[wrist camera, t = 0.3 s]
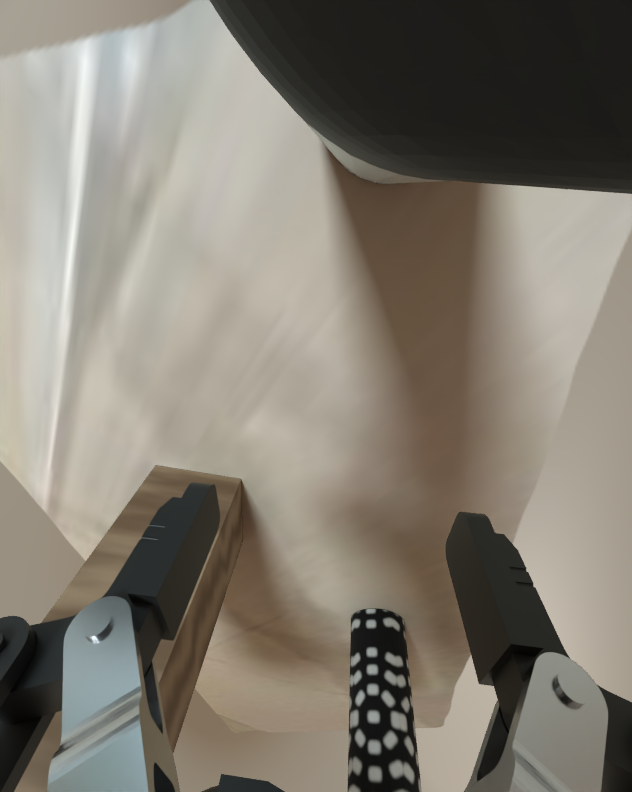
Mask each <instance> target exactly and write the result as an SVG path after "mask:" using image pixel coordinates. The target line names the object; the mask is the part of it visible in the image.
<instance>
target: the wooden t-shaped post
mask: <svg viewBox="0 0 632 792" xmlns="http://www.w3.org/2000/svg"><path fill="white" fill-rule="evenodd" d="M192 482H196V483H205V484H214V485H215V486H216V491H217V497H218V504H219V510H220V523H219V528H218V531H217V534H216V537H215V539H214V542H213V544H212V546H211V549H210V551H209V554H208V556H207V559H206V561H205V564H204V566H203V569H202V571H201V574H200V576H199V579H198V581H197V584H196V586H195V589H194V591H193V594H192V596H191V599H190V601H189V604H188V606H187V609H186V611H185V614H184V616H183V619H182V621H181V624H180V626H179V629H178V631H177V634H176V636H175V639H174V641H170V640H163V639H161V641H160V643H159V646H158V648H157V650H156V653H155V655H154V660H155V666H156V671H157V677H158V683H159V689H160V695H161V701H162V707H163V713H164V719H165V725H166V730H167V735H168V739H169V743H170V746H171V749H172V753H173V752H174V749H175V746H176V743H177V740H178V737H179V734H180V731H181V728H182V725H183V722H184V718H185V716H186V713H187V710H188V706H189V703H190V700H191V697H192V694H193V691H194V688H195V685H196V682H197V679H198V676H199V673H200V670H201V667H202V664H203V661H204V658H205V655H206V652H207V649H208V645H209V642H210V639H211V636H212V633H213V630H214V627H215V624H216V621H217V618H218V615H219V612H220V609H221V606H222V603H223V600H224V597H225V594H226V591H227V587H228V584H229V581H230V578H231V575H232V572H233V569H234V566H235V563H236V560H237V557H238V554H239V551H240V548H241V545H242V542H243V528H242V495H241V479H237V478H231V477H225V476H219V475H213V474H206V473H200V472H194V471H188V470H182V469H176V468H169V467H163V466H157V465H156V466H155V467H154V468H153V470H152V471H151V472H150V474H149V475H148V477H147V478H146V479H145V481H144V482H143V483H142V485H141V486H140V488H139V489H138V490H137V492H136V493H135V495H134V496H133V497H132V499H131V500H130V501H129V503H128V504H127V506H126V507H125V508H124V510H123V511H122V512H121V514H120V515H119V517H118V518H117V519H116V521H115V522H114V523H113V525H112V526H111V528H110V529H109V530H108V532H107V533H106V534H105V536H104V537H103V539H102V540H101V541H100V543H99V544H98V545H97V547H96V548H95V550H94V551H93V552H92V554H91V555H90V556H89V558H88V559H87V561H86V562H85V563H84V565H83V566H82V568H81V569H80V570H79V572H78V573H77V575H76V576H75V577H74V579H73V580H72V581H71V583H70V584H69V586H68V587H67V588H66V590H65V591H64V592H63V594H62V595H61V596H60V598H59V599H58V601H57V602H56V603H55V605H54V606H53V608H52V609H51V610H50V612H49V613H48V614H47V616H46V617H45V618H44V620H43V621H42V623H45V622H49V621H54V620H58V619H63V618H67V617H71V616H74V615H76V614H78V613H79V612H80V611H81V610H83V609H84V608H85V607H86V606H88V605H89V604H91V603H92V602H94V601H96V600H98V599H101V598H102V597H103V596H104V594H105V593H106V592H107V591H108V589H109V588H110V587H111V585H112V583H113V582H114V580H115V579H116V577H117V575H118V574H119V572H120V570H121V569H122V567H123V566H124V564H125V562H126V561H127V559H128V558H129V556H130V554H131V553H132V551H133V549H134V548H135V546H136V545H137V543H138V541H139V540H141V538H142V535H143V533H144V532H145V530H146V528H147V527H149V524H150V522H151V520H152V519H153V517H154V516H155V514H156V512H157V511H158V509H159V508H160V507H161V506H163V505H164V504H165V503H166V502H167V501H168V500H170V499H171V498H172V497H178V498H182V496H183V494H184V492H185V490H186V489H187V487H188V485H189V484H190V483H192ZM61 736H62V711H59V712H56V713H55V715H54V717H53V719H52V721H51V723H50V725H49V726H48V728H47V730H46V732H45V734H44V736H43V738H42V740H41V742H40V744H39V745H38V747H37V749H36V751H35V753H34V755H33V757H32V759H31V761H30V762H29V764H28V766H27V768H26V770H25V772H24V774H23V776H22V778H21V780H20V781H19V783H18V785H17V787H16V789H15V791H14V792H47V790H48V775H49V768H50V764H51V760H52V757H53V755H54V753H55V752H56V751H57V750H58V749H59V747H60V743H61Z"/></svg>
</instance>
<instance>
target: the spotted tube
mask: <svg viewBox="0 0 632 792" xmlns="http://www.w3.org/2000/svg"><path fill="white" fill-rule="evenodd" d="M348 792H421V782H420V773H419V763H418V753H417V743H416V733H415V723H414V714H413V704H412V694H411V684H410V674H409V664H408V655H407V645H406V635H405V625H404V620H403V619H402V618H401V617H400V616H399V615H397V614H395V613H393V612H390V611H387V610H382V609H365V610H361V611H358V612H356V613H355V614H353V615H352V617H351V652H350V703H349V755H348Z"/></svg>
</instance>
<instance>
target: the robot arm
mask: <svg viewBox="0 0 632 792" xmlns="http://www.w3.org/2000/svg"><path fill="white" fill-rule="evenodd" d="M210 2H211V3H212V5H213V6H214V8H215V9H216V11H217V13H218V14H219V16H220V17H221V19H222V20H223V22H224V23H225V25H226V27H227V28H228V30H229V31H230V32H231V34H232V35H233V37H234V38H235V39H236V41H237V42H238V43H239V45H240V46H241V47H242V49H243V50H244V51H245V53H246V54H247V55H248V57H249V58H250V59H251V61H252V62H253V63H254V64H255V66H256V67H257V68H258V70H259V71H260V72H261V74H262V75H263V76H264V77H265V78H266V79H267V80H268V81H269V83H270V84H271V85H272V86H273V87H274V88H275V89H276V90H277V91H278V93H279V94H280V95H281V96H282V97H283V98H284V99H285V100H286V102H287V103H288V104H289V105H290V106H291V107H292V108H293V110H294V111H295V112H296V113H297V114H298V115H299V116H300V117H301V118H302V119H303V120H304V121H305V122H306V123H307V124H308V126H309V127H310V128H311V129H312V130H313V131H314V132H315V134H316V135H317V136H318V137H319V138H320V140H321V141H322V142H323V143H324V144H325V145H326V147H327V148H328V149H329V150H330V151H331V153H332V154H333V155H334V156H335V157H336V158H337V160H338V161H339V162H341V163H342V164H343V165H344V166H345V168H346V169H347V170H348V171H350V172H351V173H352V174H354V175H357V176H358V177H361V178H362V179H364V180H367V181H370V182H376V183H379V184H399V183H416V182H442V181H465V182H476V183H489V184H505V185H520V186H534V187H547V188H561V189H574V190H588V191H602V192H615V193H629V194H632V0H210ZM219 523H220V510H219V504H218V497H217V491H216V486H215V485H214V484H205V483H196V482H192V483H190V484H189V485H188V487H187V489H186V490H185V492H184V494H183V496H182V498H178V497H172V498H171V499H170V500H168V501H167V502H166V503H165V504H164V505H163V506H161V507H160V508H159V509H158V511H157V512H156V514H155V516H154V517H153V519H152V520H151V522H150V524H149V527H147V528H146V530H145V532H144V533H143V535H142V538H141V540H139V541H138V543H137V545H136V546H135V548H134V549H133V551H132V553H131V554H130V556H129V558H128V559H127V561H126V562H125V564H124V566H123V567H122V569H121V570H120V572H119V574H118V575H117V577H116V579H115V580H114V582H113V583H112V585H111V587H110V588H109V589H108V591H107V592H106V593H105V594H104V596H103V597H102V598H101V599H98V600H96V601H94V602H92V603H91V604H89V605H88V606H86V607H85V608H84V609H83V610H81V611H80V612H79V613H78V614H76V615H74V616H71V617H67V618H63V619H58V620H54V621H49V622H45V623H40V624H36V625H31V626H30V625H29V624H28V623H27V622H26V621H25V620H24V619H23V618H21V617H17V616H8V617H3V618H0V792H14V791H15V789H16V787H17V785H18V783H19V781H20V780H21V778H22V776H23V774H24V772H25V770H26V768H27V766H28V764H29V762H30V761H31V759H32V757H33V755H34V753H35V751H36V749H37V747H38V745H39V744H40V742H41V740H42V738H43V736H44V734H45V732H46V730H47V728H48V726H49V725H50V723H51V721H52V719H53V717H54V715H55V713H56V712H59V711H62V736H61V743H60V747H59V749H58V750H57V751H56V752H55V753H54V755H53V757H52V760H51V764H50V768H49V775H48V790H47V792H180V788H179V782H178V777H177V771H176V766H175V762H174V757H173V753H172V749H171V746H170V743H169V739H168V735H167V730H166V725H165V719H164V713H163V707H162V701H161V695H160V689H159V683H158V677H157V671H156V666H155V660H154V655H155V653H156V650H157V648H158V646H159V643H160V641H161V639H163V640H170V641H174V639H175V636H176V634H177V631H178V629H179V626H180V624H181V621H182V619H183V616H184V614H185V611H186V609H187V606H188V604H189V601H190V599H191V596H192V594H193V591H194V589H195V586H196V584H197V581H198V579H199V576H200V574H201V571H202V569H203V566H204V564H205V561H206V559H207V556H208V554H209V551H210V549H211V546H212V544H213V542H214V539H215V537H216V534H217V531H218V528H219ZM446 559H447V563H448V567H449V571H450V575H451V578H452V582H453V586H454V590H455V594H456V598H457V601H458V605H459V609H460V613H461V617H462V620H463V624H464V628H465V632H466V636H467V640H468V643H469V647H470V651H471V655H472V659H473V663H474V666H475V670H476V674H477V678H478V682H479V684H484V685H491V686H494V688H495V691H496V695H497V698H498V701H497V702H496V704H495V707H494V710H493V713H492V716H491V719H490V722H489V725H488V728H487V731H486V734H485V737H484V740H483V743H482V746H481V749H480V752H479V755H478V758H477V761H476V764H475V767H474V770H473V773H472V776H471V779H470V781H469V783H468V785H467V787H466V789H465V791H464V792H632V702H630V701H627V700H625V699H623V698H621V697H619V696H617V695H615V694H613V693H611V692H608V691H607V690H605V689H603V688H601V687H600V686H598V685H597V684H596V683H595V681H594V680H593V679H592V678H591V677H590V675H589V674H588V673H587V672H586V671H585V670H584V669H583V668H582V667H581V666H579V665H578V664H577V663H576V662H574V661H573V660H571V659H570V657H569V656H568V655H567V653H566V651H565V650H564V648H563V646H562V644H561V641H560V639H559V637H558V635H557V633H556V631H555V629H554V626H553V624H552V622H551V620H550V618H549V616H548V614H547V612H546V609H545V607H544V605H543V603H542V601H541V599H540V597H539V595H538V592H537V590H536V588H535V587H533V582H532V580H531V577H530V576H529V573H528V572H526V567H525V565H524V563H523V560H522V558H521V556H520V554H519V552H518V550H517V549H516V548H515V547H514V546H513V544H512V543H511V542H510V541H509V540H508V539H507V538H506V536H505V535H504V534H496V533H495V532H494V530H493V527H492V525H491V523H490V520H489V518H488V517H487V516H486V515H485V514H477V513H467V512H459V513H458V515H457V517H456V519H455V522H454V524H453V526H452V529H451V531H450V534H449V536H448V538H447V542H446ZM202 792H284V791H283V790H281V789H279V788H278V787H276V786H274V785H273V784H271V783H270V782H268V781H262V780H256V779H249V778H243V777H236V776H230V775H224V774H221V778H220V782H219V785H218V786H215V787H211V788H209V789H207V790H205V791H202Z"/></svg>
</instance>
